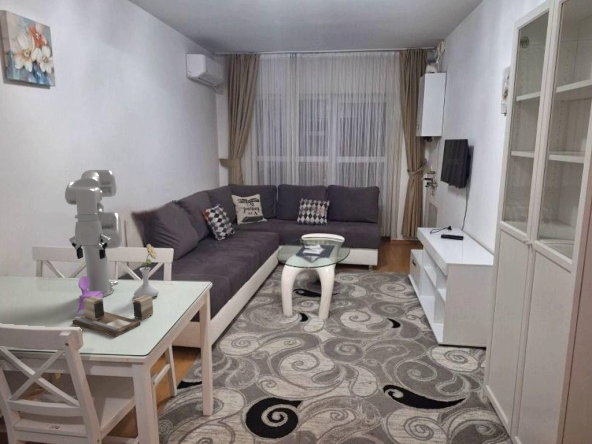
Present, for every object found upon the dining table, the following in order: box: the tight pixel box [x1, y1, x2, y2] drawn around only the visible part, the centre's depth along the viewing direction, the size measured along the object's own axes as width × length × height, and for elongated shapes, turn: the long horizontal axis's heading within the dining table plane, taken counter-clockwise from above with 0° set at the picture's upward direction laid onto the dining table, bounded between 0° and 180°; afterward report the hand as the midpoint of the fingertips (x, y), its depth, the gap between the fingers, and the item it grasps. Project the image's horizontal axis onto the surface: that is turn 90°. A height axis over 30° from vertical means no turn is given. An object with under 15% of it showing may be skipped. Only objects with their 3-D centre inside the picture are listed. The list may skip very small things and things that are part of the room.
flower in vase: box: [133, 243, 160, 299], centre depth 196 cm, size 13×11×25 cm
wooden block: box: [132, 295, 154, 320], centre depth 174 cm, size 4×7×8 cm
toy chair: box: [76, 275, 104, 313], centre depth 180 cm, size 8×9×15 cm
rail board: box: [72, 296, 141, 338], centre depth 165 cm, size 12×25×10 cm, turn 63°
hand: (91, 258), depth 173 cm, fingers open, 9 cm apart
